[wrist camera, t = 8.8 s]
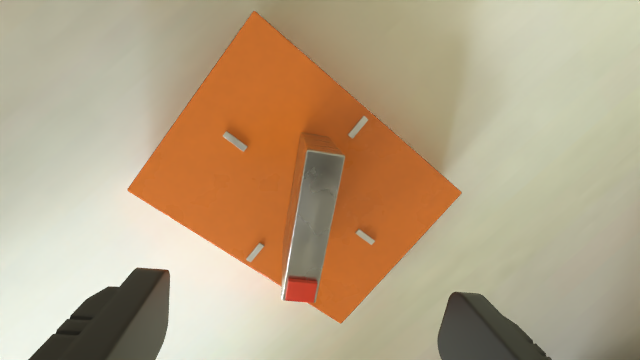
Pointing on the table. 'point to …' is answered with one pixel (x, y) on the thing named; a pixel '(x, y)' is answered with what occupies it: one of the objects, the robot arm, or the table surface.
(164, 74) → the table surface
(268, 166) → the orange flat rectangular block
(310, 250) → the gray rectangular block
